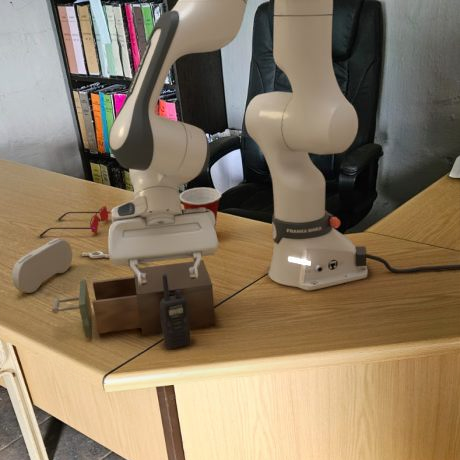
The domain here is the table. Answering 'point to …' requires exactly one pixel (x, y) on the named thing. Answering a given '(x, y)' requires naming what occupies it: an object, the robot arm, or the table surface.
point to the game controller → (41, 265)
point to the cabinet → (178, 279)
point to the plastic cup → (201, 199)
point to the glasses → (94, 223)
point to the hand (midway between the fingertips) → (168, 280)
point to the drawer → (106, 305)
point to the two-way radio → (174, 318)
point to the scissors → (96, 255)
